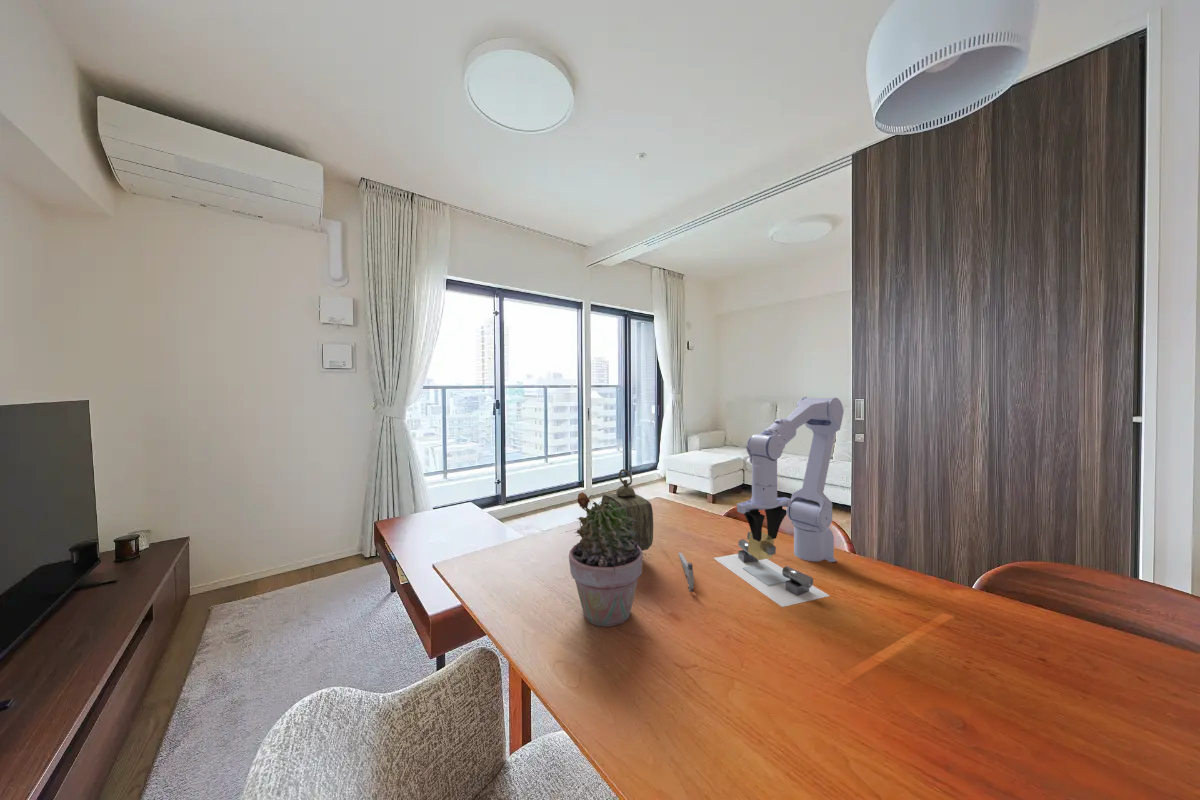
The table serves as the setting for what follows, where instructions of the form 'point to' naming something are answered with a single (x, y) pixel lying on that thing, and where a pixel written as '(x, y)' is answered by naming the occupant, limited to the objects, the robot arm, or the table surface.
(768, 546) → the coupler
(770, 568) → the bench
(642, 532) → the tabletop clock
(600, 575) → the potted plant
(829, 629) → the table surface
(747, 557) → the shaft
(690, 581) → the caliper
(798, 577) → the shaft
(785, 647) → the table surface
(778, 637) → the table surface
